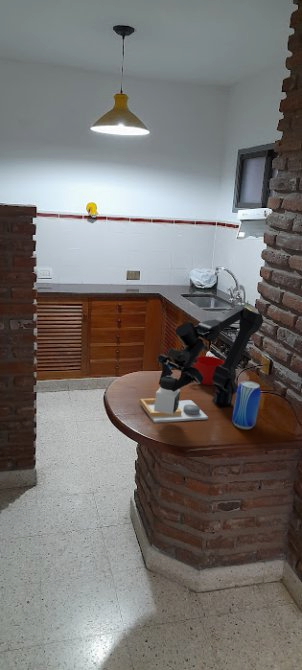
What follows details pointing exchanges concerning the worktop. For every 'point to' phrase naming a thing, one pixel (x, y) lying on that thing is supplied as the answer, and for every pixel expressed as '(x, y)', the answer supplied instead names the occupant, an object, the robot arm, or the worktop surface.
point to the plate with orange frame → (183, 413)
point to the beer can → (246, 405)
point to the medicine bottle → (167, 396)
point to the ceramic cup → (207, 367)
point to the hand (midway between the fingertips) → (165, 387)
